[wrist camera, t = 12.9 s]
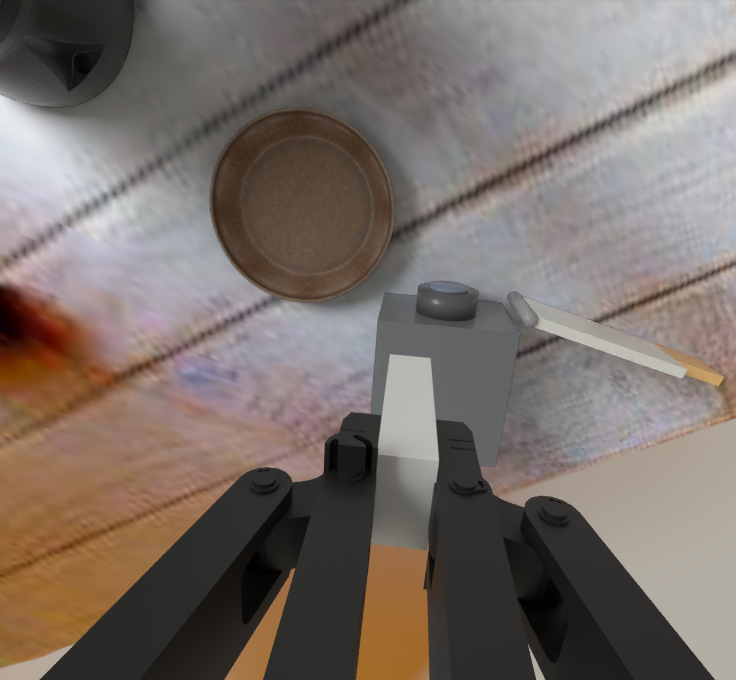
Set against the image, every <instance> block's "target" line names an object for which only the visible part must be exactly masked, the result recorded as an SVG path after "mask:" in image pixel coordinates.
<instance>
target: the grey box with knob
mask: <svg viewBox="0 0 736 680" xmlns="http://www.w3.org/2000/svg"><path fill="white" fill-rule="evenodd" d="M478 296H479V292H478V291H477V290H476V289H474V288H471V287H468V286H466V285H464V284H461V283H457V282H450V281H433V282H429V283H423V284H420V285H419V286H418V294H417V296H415V295H404V294H393V293H385V294H384V298H383V302H382V306H381V310H380V314H379V318H378V325H377V338H376V350H375V363H374V376H373V389H372V402H371V414H375V415H382V411H383V403H384V396H385V388H386V380H387V373H388V365H389V357H390V354H393V355H403V356H414V357H425V358H431V370H432V382H433V394H434V406H435V418H436V420H446V421H456V422H464V423H465V424H466V425H467V427H468V428H469V429H470V430H471V431H472V433H473V438H474V443H475V447H476V452H477V456H478V461H479V465H482V466H491V467H496V462H497V456H498V451H499V446H500V440H501V435H502V430H503V424H504V419H505V414H506V408H507V403H508V397H509V392H510V387H511V381H512V376H513V371H514V365H515V360H516V355H517V349H518V344H519V339H520V332H519V330H518V329H517V327H516V326H515V324H514V322H513V321H512V319H511V318H510V316H509V314H508V313H507V311H506V310H505V308H504V307H503V305H502V303H494V302H483V301H478Z"/></svg>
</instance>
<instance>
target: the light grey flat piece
mask: <svg viewBox="0 0 736 680" xmlns="http://www.w3.org/2000/svg"><path fill="white" fill-rule="evenodd" d="M507 299H508V301H509V303H510V304H511V306H512V307H513V308H514V310H515V311H516V313H517V314H518V316H519V317H520V319H521V320H522V321H523V323H524V324H525V326H527V327H530V328H531V327H535V328H538V329H541V330H543V331H546V332H549V333H552V334H555V335H558V336H561V337H564V338H566V339H569V340H572V341H575V342H578V343H581V344H584V345H586V346H589V347H592V348H595V349H598V350H601V351H604V352H606V353H609V354H612V355H615V356H618V357H621V358H624V359H626V360H629V361H632V362H635V363H638V364H641V365H644V366H646V367H649V368H652V369H655V370H658V371H661V372H664V373H666V374H669V375H672V376H675V377H678V378H681V379H682V378H683V377H684V375H688V376H690V377H693V378H696V379H699V380H702V381H705V382H708V383H710V384H713V385H716V386H719V385H720V383H721V382H722V380H723V379H724V377H723V376H722V375H720V374H719V373H717V372H716V371H714V370H713V369H711V368H710V367H708V366H707V365H705V364H704V363H703V362H701V361H700V360H698V359H697V358H695V357H692V356H689V355H686V354H683V353H680V352H678V351H675V350H672V349H669V348H666V347H663V346H661V345H658V344H655V343H652V342H650V341H648V340H645V339H642V338H639V337H636V336H633V335H630V334H628V333H625V332H622V331H619V330H616V329H613V328H611V327H608V326H605V325H602V324H599V323H596V322H593V321H591V320H588V319H585V318H582V317H579V316H576V315H573V314H571V313H568V312H565V311H562V310H559V309H556V308H554V307H551V306H548V305H545V304H542V303H539V302H536V301H534V300H531V299H528V298H525V297H522V298H521V296H520V295H519V294H518V293H517V292H511V293H510V294H509V295H508V297H507Z"/></svg>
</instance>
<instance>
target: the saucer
mask: <svg viewBox="0 0 736 680" xmlns="http://www.w3.org/2000/svg"><path fill="white" fill-rule="evenodd" d="M210 211H211V218H212V223H213V227H214V230H215V233H216V236H217V239H218V241H219V243H220V245H221V247H222V249H223V251H224V253H225V254H226V256H227V257H228V259H229V260H230V262H231V263H232V264H233V266H234V267H235V268H236V269H237V270H238V271H239V273H240V274H241V275H243V276H244V277H245V278H246V279H247V280H248V281H249V282H251V283H252V284H253V285H255V286H256V287H258V288H259V289H261V290H263V291H265V292H267V293H269V294H271V295H273V296H276V297H278V298H281V299H285V300H289V301H295V302H320V301H326V300H330V299H333V298H336V297H339V296H341V295H344V294H346V293H348V292H350V291H351V290H353V289H355V288H356V287H358V286H359V285H360V284H361V283H363V282H364V281H365V280H366V279H367V278H368V277H369V276H370V275H371V274H372V273H373V271H374V270H375V269H376V268H377V266H378V265H379V263H380V262H381V260H382V258H383V257H384V255H385V253H386V250H387V248H388V245H389V243H390V240H391V236H392V233H393V228H394V220H395V202H394V195H393V189H392V185H391V182H390V178H389V175H388V172H387V170H386V168H385V165H384V163H383V161H382V160H381V158H380V156H379V154H378V153H377V151H376V150H375V148H374V147H373V146H372V144H371V143H370V142H369V141H368V140H367V139H366V138H365V137H364V136H363V135H362V134H361V133H360V132H359V131H358V130H357V129H355V128H354V127H353V126H351V125H350V124H348V123H347V122H345V121H344V120H342V119H340V118H338V117H336V116H334V115H332V114H329V113H326V112H323V111H320V110H315V109H309V108H286V109H279V110H276V111H272V112H269V113H266V114H264V115H262V116H259V117H257V118H256V119H254V120H252V121H251V122H249V123H248V124H246V125H245V126H244V127H243V128H241V129H240V130H239V131H238V132H237V133H236V134H235V135H234V136H233V137H232V138H231V140H230V141H229V142H228V144H227V145H226V146H225V148H224V149H223V151H222V153H221V154H220V156H219V158H218V161H217V163H216V166H215V168H214V172H213V175H212V181H211V187H210Z"/></svg>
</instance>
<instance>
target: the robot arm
mask: <svg viewBox="0 0 736 680" xmlns="http://www.w3.org/2000/svg"><path fill="white" fill-rule="evenodd" d="M132 29H133V0H0V95H2V96H5V97H7V98H10V99H13V100H16V101H19V102H23V103H29V104H34V105H40V106H46V107H68V106H73V105H77V104H80V103H83V102H86V101H88V100H90V99H92V98H93V97H95V96H96V95H98V94H99V93H101V92H102V91H103V90H104V89H105V88H106V87H107V86H108V85H109V84H110V83H111V82H112V80H113V79H114V78H115V77H116V75H117V74H118V72H119V70H120V68H121V67H122V65H123V62H124V60H125V58H126V55H127V52H128V49H129V46H130V41H131V36H132ZM428 539H429V552H428V559H427V567H426V574H425V582H424V588H423V589H426V590H427V600H428V636H429V676H430V680H536V677H535V673H534V669H533V665H532V660H531V656H530V651H529V647H530V649H531V651H532V653H533V655H534V657H535V659H536V661H537V663H538V665H539V667H540V669H541V671H542V673H543V675H544V678H545V680H714V678H713V677H712V676H711V674H710V673H709V672H708V671H707V669H706V668H705V667H704V666H703V664H702V663H701V662H700V661H699V660H698V658H697V657H696V656H695V655H694V653H693V652H692V651H691V650H690V648H689V647H688V646H687V645H686V643H685V642H684V641H683V640H682V638H681V637H680V636H679V635H678V633H677V632H676V631H675V630H674V629H673V627H672V626H671V625H670V624H669V622H668V621H667V620H666V619H665V617H664V616H663V615H662V614H661V612H660V611H659V610H658V609H657V608H656V606H655V605H654V604H653V603H652V601H651V600H650V599H649V598H648V596H647V595H646V594H645V593H644V592H643V590H642V589H641V588H640V586H639V585H638V584H637V583H636V582H635V580H634V579H633V578H632V577H631V575H630V574H629V573H628V572H627V571H626V570H625V568H624V567H623V565H622V564H621V563H620V562H619V560H618V559H617V558H616V557H615V556H614V554H613V553H612V552H611V551H610V549H609V548H608V547H607V546H606V544H605V543H604V542H603V541H602V540H601V538H600V537H599V536H598V535H597V533H596V532H595V531H594V530H593V528H592V527H591V526H590V525H589V523H588V522H587V521H586V520H585V518H584V517H583V516H582V515H581V514H580V512H578V511H577V510H576V509H575V508H574V507H573V506H571V505H570V504H568V503H566V502H564V501H563V500H560V499H557V498H553V497H549V496H537V497H532V498H530V499H529V500H528V501H526V503H525V507H521V506H518V505H515V504H512V503H509V502H507V501H504V500H502V499H500V498H498V497H497V496H495V495H494V494H493V493H492V489H491V487H490V485H489V483H488V482H487V481H486V480H484V479H483V478H482V475H481V470H480V466H479V461H478V456H477V452H476V447H475V443H474V438H473V433H472V431H471V430H470V429H469V428H468V427H467V425H466V424H465V423H464V422H456V421H446V420H436V418H435V406H434V394H433V382H432V370H431V358H425V357H414V356H403V355H393V354H390V357H389V365H388V373H387V380H386V388H385V396H384V403H383V411H382V415H375V414H365V413H355V412H351V413H350V414H349V415H348V416H347V417H345V418H344V419H343V421H342V425H341V428H340V432H339V433H337V434H334V435H333V436H331V437H329V438H328V439H327V441H326V442H325V454H324V472H323V475H321V476H319V477H318V478H315V479H312V480H308V481H302V482H293V483H292V480H291V477H290V476H289V475H288V474H287V473H286V472H284V471H282V470H280V469H277V468H269V467H266V468H257V469H254V470H251V471H249V472H247V473H245V474H244V475H243V476H241V477H240V478H239V479H238V480H237V481H236V482H235V483H234V484H233V485H232V486H231V487H230V488H229V489H228V490H227V491H226V492H225V493H224V494H223V495H222V496H221V497H220V498H219V499H218V500H217V501H216V502H215V503H214V504H213V505H212V506H211V507H210V508H209V509H208V510H207V511H206V512H205V513H204V514H203V515H202V516H201V517H200V518H199V519H198V520H197V521H196V522H195V523H194V524H193V525H192V526H191V527H190V528H189V529H188V531H187V532H186V533H185V534H184V535H183V536H182V537H181V538H180V539H179V540H178V541H177V542H176V543H175V544H174V545H173V546H172V547H171V548H170V549H169V550H168V551H167V552H166V553H165V554H164V555H163V556H162V557H161V558H160V559H159V560H158V561H157V562H156V563H155V564H154V565H153V566H152V567H151V568H150V569H149V570H148V571H147V572H146V573H145V574H144V575H143V576H142V577H141V578H140V579H139V580H138V581H137V582H136V583H135V584H134V585H133V586H132V587H131V588H130V589H129V590H128V591H127V592H126V593H125V594H124V595H123V596H122V597H121V598H120V599H119V600H118V601H117V602H116V603H115V604H114V605H113V606H112V607H111V608H110V609H109V610H108V611H107V612H106V613H105V614H104V615H103V616H102V617H101V618H100V619H99V620H98V621H97V622H96V623H95V624H94V625H93V626H92V627H91V628H90V629H89V630H88V631H87V632H86V634H85V635H84V636H83V637H82V638H81V639H80V640H79V641H78V642H77V643H76V644H75V645H74V646H73V647H72V648H71V649H70V650H69V651H68V652H67V653H66V654H65V655H64V656H63V657H62V658H61V659H60V660H59V661H58V662H57V663H56V664H55V665H54V666H53V667H52V668H51V669H50V670H49V671H48V672H47V673H46V674H45V675H44V676H43V677H42V678H41V679H40V680H224V679H225V678H226V676H227V674H228V673H229V671H230V669H231V668H232V666H233V665H234V663H235V662H236V660H237V658H238V657H239V655H240V653H241V652H242V650H243V649H244V647H245V646H246V644H247V642H248V641H249V639H250V637H251V636H252V634H253V633H254V631H255V630H256V628H257V626H258V625H259V623H260V622H261V620H262V618H263V617H264V615H265V614H266V612H267V610H268V609H269V607H270V606H271V604H272V602H273V601H274V599H275V598H276V596H277V594H278V593H279V591H280V590H281V588H282V586H283V585H284V583H285V582H286V580H287V578H288V577H289V574H290V571H291V569H293V568H296V569H295V572H294V575H293V579H292V582H291V586H290V589H289V593H288V596H287V599H286V603H285V607H284V610H283V613H282V617H281V620H280V623H279V627H278V630H277V634H276V637H275V641H274V645H273V647H272V651H271V655H270V658H269V661H268V665H267V668H266V672H265V675H264V678H263V680H356V674H357V665H358V656H359V647H360V637H361V628H362V620H363V611H364V602H365V592H366V584H367V575H368V566H369V556H370V545H371V544H379V545H388V546H396V547H404V548H413V549H422V550H427V547H428ZM528 645H529V647H528Z"/></svg>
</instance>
